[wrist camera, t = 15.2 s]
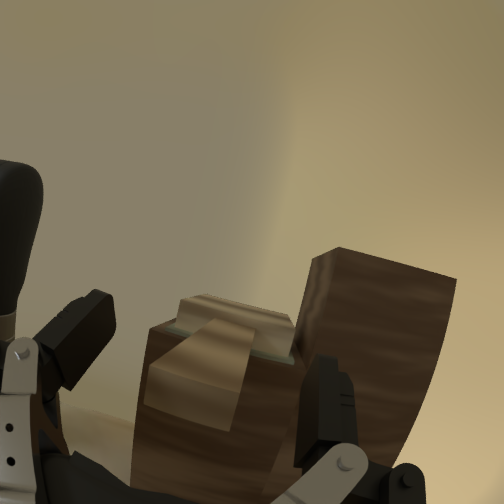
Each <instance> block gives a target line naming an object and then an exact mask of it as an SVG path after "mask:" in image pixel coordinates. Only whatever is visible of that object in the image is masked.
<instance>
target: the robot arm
mask: <svg viewBox="0 0 504 504" xmlns="http://www.w3.org/2000/svg"><path fill="white" fill-rule="evenodd" d="M42 205H43V183H42V179H41V177H40V175H39V173H38V172H37V170H36V169H34V168H33V167H31V166H29V165H27V164H23V163H18V162H12V161H6V160H0V504H199V503H196V502H192V501H189V500H186V499H182V498H179V497H176V496H173V495H170V494H167V493H160V492H153V491H147V490H141V489H136V488H131V487H129V486H128V485H126V484H125V483H123V482H122V481H121V480H119V479H118V478H117V477H116V476H114V475H113V474H112V473H110V472H109V471H108V470H107V469H106V468H104V467H103V466H102V465H100V464H98V463H96V462H94V461H92V460H91V459H89V458H87V457H85V456H83V455H82V454H80V453H78V452H77V451H74V453H73V454H72V456H71V455H69V450H68V447H67V444H66V442H65V439H64V437H63V432H62V424H61V414H60V401H59V392H58V390H59V389H60V387H61V386H62V387H64V388H66V389H67V390H69V391H71V390H72V389H73V388H74V386H75V385H76V384H77V382H78V381H79V380H80V378H81V377H82V376H83V374H84V373H85V372H86V370H87V369H88V368H89V367H90V365H91V364H92V363H93V361H94V360H95V359H96V358H97V356H98V355H99V354H100V353H101V351H102V350H103V349H104V347H105V346H106V345H107V344H108V342H109V341H110V340H111V339H112V337H113V336H114V333H115V330H116V318H115V311H114V301H113V297H112V295H110V294H108V293H105V292H102V291H100V290H97V289H94V290H92V291H91V292H90V293H89V294H88V295H87V296H85V297H81V298H78V299H76V300H74V301H72V302H70V303H69V304H68V305H67V306H66V307H65V308H64V309H63V311H61V312H59V313H58V314H57V317H54V318H53V319H52V320H51V321H50V322H49V323H48V324H47V325H46V326H45V327H44V328H43V329H42V330H41V331H40V332H39V333H38V334H36V335H35V336H34V337H33V338H32V339H31V338H27V337H22V338H18V339H16V340H15V322H16V308H17V300H18V296H19V294H20V291H21V289H22V286H23V284H24V280H25V276H26V272H27V266H28V262H29V258H30V253H31V250H32V246H33V242H34V238H35V235H36V231H37V228H38V224H39V219H40V216H41V211H42ZM293 468H302V476H301V478H300V479H299V480H298V481H297V482H296V483H294V484H293V485H292V486H291V487H290V488H289V489H287V490H286V491H285V492H284V493H283V494H281V495H280V496H279V497H278V498H277V499H275V500H274V501H273V502H272V503H270V504H426V491H425V479H424V475H423V473H422V471H421V470H420V469H419V468H418V467H417V466H416V465H413V464H410V463H403V464H400V465H398V466H396V467H395V468H390V467H387V466H384V465H381V464H377V463H375V462H372V461H371V460H369V459H368V458H367V456H366V454H365V452H364V451H363V450H362V449H361V448H360V447H359V444H358V431H357V418H356V408H355V398H354V386H353V383H352V381H351V379H350V377H349V376H348V374H347V373H346V372H339V370H338V359H337V357H335V356H329V355H324V354H319V353H317V354H316V355H315V357H314V359H313V361H312V363H311V365H310V367H309V369H308V371H307V373H306V375H305V377H304V380H303V382H302V386H301V390H300V399H299V412H298V424H297V435H296V446H295V456H294V465H293Z"/></svg>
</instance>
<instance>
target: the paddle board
mask: <svg viewBox="0 0 504 504" xmlns="http://www.w3.org/2000/svg"><path fill="white" fill-rule="evenodd" d="M175 327H176V328H179V329H182V330H185V331H188V332H192V333H194V334H192V335H191V336H189V337H188V338H187V339H185V340H184V341H183V342H181V343H180V344H178V345H177V346H176V347H174V348H173V349H171V350H170V351H169V352H167V353H166V354H164V355H163V356H162V357H160V358H159V359H157V360H156V361H155V362H153V363H152V364H150V365H149V371H148V377H147V383H146V390H145V397H144V404H145V405H147V406H150V407H152V408H155V409H158V410H160V411H163V412H166V413H169V414H171V415H174V416H177V417H180V418H183V419H186V420H189V421H193V422H196V423H199V424H202V425H206V426H209V427H213V428H217V429H220V430H224V431H228V432H229V430H230V427H231V423H232V420H233V416H234V413H235V409H236V406H237V402H238V398H239V395H240V391H241V387H242V383H243V379H244V375H245V371H246V367H247V363H248V358H249V354H250V350H251V349H254V350H258V351H262V352H267V353H271V354H275V355H280V356H284V357H288V356H289V352H290V349H291V345H292V342H293V338H294V334H295V331H296V329H295V327H294V325H293V324H292V322H291V320H290V318H289V316H288V315H287V314H283V313H278V312H274V311H270V310H265V309H262V308H258V307H254V306H249V305H245V304H242V303H238V302H234V301H230V300H226V299H222V298H218V297H215V296H211V295H208V294H203V295H198V296H194V297H190V298H185V299H181V300H180V305H179V309H178V313H177V318H176V322H175Z"/></svg>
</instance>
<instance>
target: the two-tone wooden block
mask: <svg viewBox="0 0 504 504" xmlns="http://www.w3.org/2000/svg"><path fill="white" fill-rule="evenodd" d="M456 280H457V279H454V278H451V277H448V276H445V275H441V274H438V273H434V272H430V271H427V270H423V269H420V268H416V267H413V266H409V265H405V264H402V263H398V262H394V261H390V260H387V259H383V258H379V257H376V256H372V255H368V254H364V253H361V252H357V251H353V250H349V249H345V248H341V247H337V248H335V249H333V250H331V251H328V252H326V253H324V254H322V255H320V256H317V257H315V258H313V259H312V263H311V267H310V271H309V275H308V279H307V284H306V288H305V292H304V296H303V300H302V304H301V308H300V312H299V316H298V319H297V323H296V327H295V329H296V331H295V334H294V338H293V342H292V345H291V349H290V352H289V356H288V357H284V356H280V355H275V354H271V353H267V352H262V351H258V350H254V349H251V350H250V354H249V358H248V363H247V367H246V371H245V375H244V379H243V383H242V387H241V391H240V395H239V398H238V402H237V406H236V409H235V413H234V416H233V420H232V423H231V427H230V430H229V432H228V431H224V430H220V429H217V428H213V427H209V426H206V425H202V424H199V423H196V422H193V421H189V420H186V419H183V418H180V417H177V416H174V415H171V414H169V413H166V412H163V411H160V410H158V409H155V408H152V407H150V406H147V405H145V404H144V397H145V390H146V383H147V377H148V371H149V365H150V364H152V363H153V362H155V361H156V360H157V359H159V358H160V357H162V356H163V355H164V354H166V353H167V352H169V351H170V350H171V349H173V348H174V347H176V346H177V345H178V344H180V343H181V342H183V341H184V340H185V339H187V338H188V337H189V336H191V335H192V334H194V333H192V332H188V331H185V330H182V329H179V328H176V327H175V322H176V318H175V319H172V320H170V321H167V322H165V323H163V324H160V325H158V326H155V327H152V328H150V329H149V334H148V340H147V345H146V351H145V357H144V363H143V369H142V376H141V382H140V389H139V396H138V403H137V411H136V420H135V429H134V439H133V450H132V463H131V479H130V487H131V488H136V489H141V490H147V491H153V492H160V493H167V494H170V495H173V496H176V497H179V498H182V499H186V500H189V501H192V502H196V503H199V504H270V503H272V502H273V501H274V500H275V499H277V498H278V497H279V496H280V495H281V494H283V493H284V492H285V491H286V490H287V489H289V488H290V487H291V486H292V485H293V484H294V483H296V482H297V481H298V480H299V479H300V478H301V476H302V468H293V465H294V456H295V446H296V435H297V424H298V412H299V399H300V390H301V386H302V382H303V380H304V377H305V375H306V373H307V371H308V369H309V367H310V365H311V363H312V361H313V359H314V357H315V355H316V354H317V353H319V354H324V355H329V356H335V357H337V359H338V370H339V372H346V373H347V374H348V376H349V377H350V379H351V381H352V383H353V386H354V398H355V408H356V418H357V431H358V444H359V447H360V448H361V449H362V450H363V451H364V452H365V454H366V456H367V458H368V459H369V460H371V461H372V462H375V463H377V464H381V465H384V466H387V467H390V468H392V466H393V465H394V463H395V461H396V459H397V457H398V455H399V453H400V452H401V450H402V448H403V446H404V443H405V442H406V440H407V438H408V435H409V433H410V431H411V429H412V427H413V425H414V422H415V420H416V418H417V415H418V413H419V411H420V408H421V406H422V403H423V401H424V398H425V396H426V393H427V390H428V388H429V385H430V382H431V379H432V376H433V374H434V370H435V367H436V364H437V361H438V358H439V355H440V351H441V348H442V344H443V341H444V337H445V333H446V329H447V325H448V321H449V317H450V312H451V308H452V303H453V297H454V293H455V287H456Z"/></svg>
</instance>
